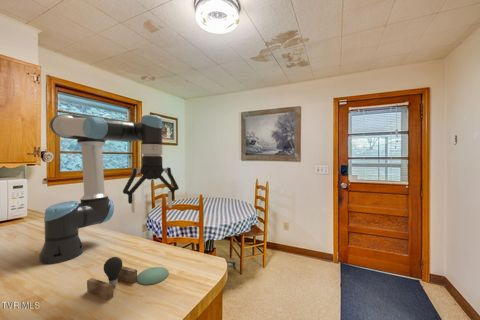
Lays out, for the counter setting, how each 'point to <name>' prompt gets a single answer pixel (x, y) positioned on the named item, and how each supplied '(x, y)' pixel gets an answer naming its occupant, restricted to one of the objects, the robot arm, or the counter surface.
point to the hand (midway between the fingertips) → (152, 209)
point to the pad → (152, 275)
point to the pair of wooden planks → (105, 288)
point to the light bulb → (113, 269)
